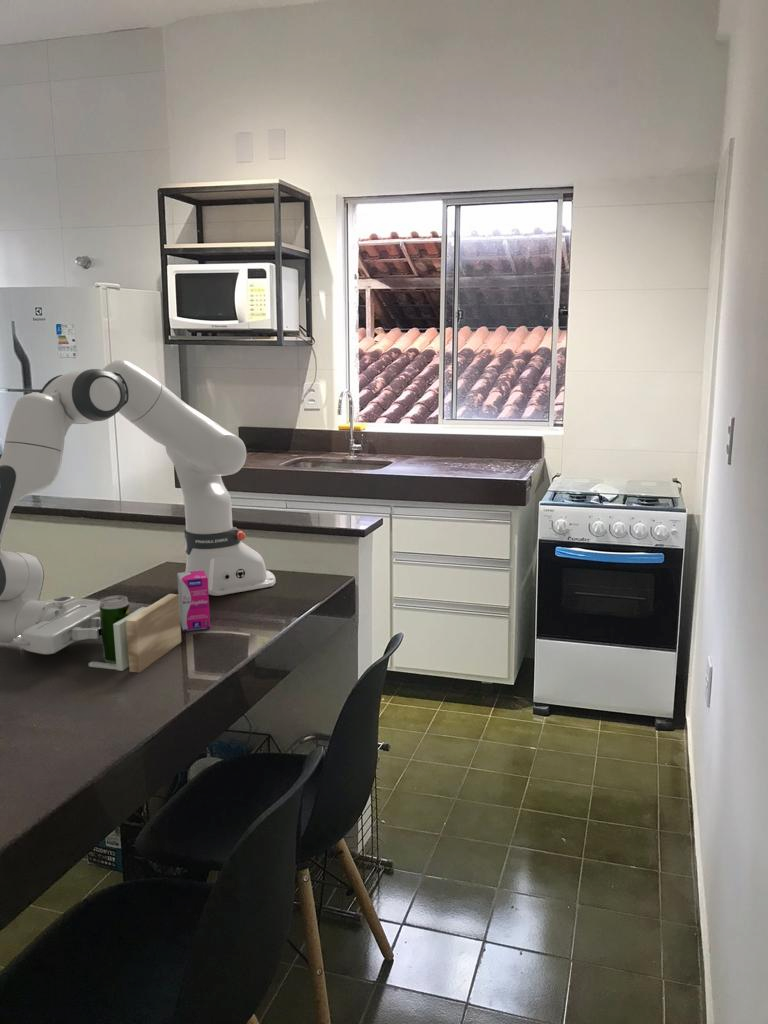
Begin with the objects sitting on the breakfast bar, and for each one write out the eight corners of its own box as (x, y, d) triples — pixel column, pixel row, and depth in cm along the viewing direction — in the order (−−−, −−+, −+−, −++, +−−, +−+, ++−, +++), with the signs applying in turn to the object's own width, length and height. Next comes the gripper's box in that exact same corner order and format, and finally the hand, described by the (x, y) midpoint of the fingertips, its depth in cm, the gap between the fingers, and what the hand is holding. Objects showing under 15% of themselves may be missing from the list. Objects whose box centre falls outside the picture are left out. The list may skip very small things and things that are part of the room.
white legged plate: (88, 667, 158) (84, 621, 156) (117, 647, 168) (114, 604, 166) (122, 670, 156) (118, 624, 155) (150, 651, 166) (147, 607, 164)
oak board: (129, 671, 156) (125, 620, 154) (172, 640, 171) (169, 593, 169) (139, 672, 156) (135, 621, 153) (181, 641, 171) (178, 594, 169)
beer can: (107, 666, 158) (102, 605, 156) (101, 657, 163) (96, 597, 160) (136, 660, 161) (131, 600, 158) (129, 651, 166) (124, 593, 163)
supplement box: (182, 632, 176) (179, 579, 173) (179, 623, 181) (176, 572, 179) (210, 629, 178) (208, 577, 175) (206, 620, 183) (204, 569, 181)
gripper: (4, 626, 155) (70, 633, 151) (73, 593, 174) (132, 598, 170) (8, 658, 156) (73, 666, 152) (75, 622, 175) (135, 627, 172)
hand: (105, 630), depth 161 cm, fingers closed on beer can, 2 cm apart
